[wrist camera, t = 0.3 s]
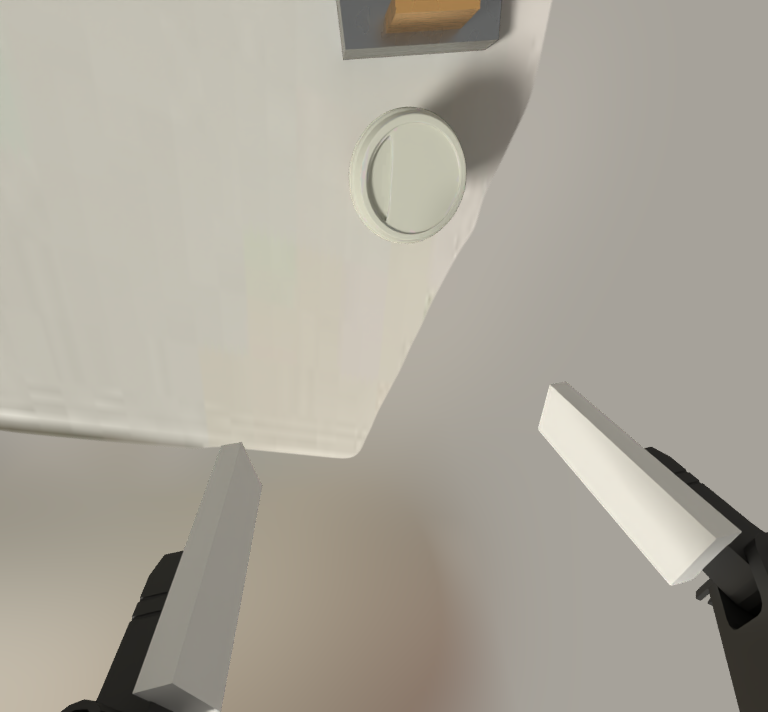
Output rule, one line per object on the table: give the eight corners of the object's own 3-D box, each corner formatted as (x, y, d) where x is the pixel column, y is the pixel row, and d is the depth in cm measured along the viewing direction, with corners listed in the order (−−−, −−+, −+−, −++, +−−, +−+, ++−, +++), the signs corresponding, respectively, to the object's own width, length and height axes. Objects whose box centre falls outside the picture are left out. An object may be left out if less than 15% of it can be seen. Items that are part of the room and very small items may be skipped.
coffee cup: (372, 103, 27) (403, 62, 17) (440, 168, 31) (498, 166, 21) (324, 191, 30) (326, 200, 20) (391, 241, 34) (422, 270, 24)
